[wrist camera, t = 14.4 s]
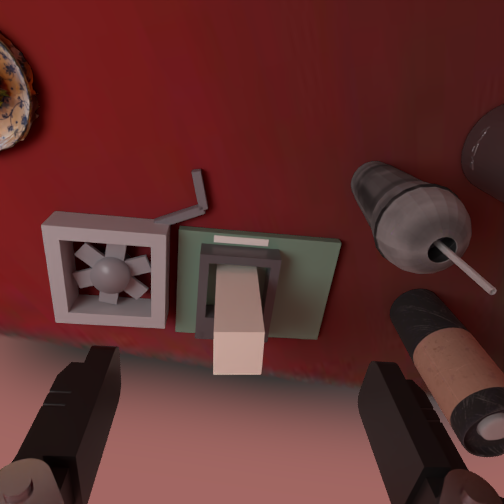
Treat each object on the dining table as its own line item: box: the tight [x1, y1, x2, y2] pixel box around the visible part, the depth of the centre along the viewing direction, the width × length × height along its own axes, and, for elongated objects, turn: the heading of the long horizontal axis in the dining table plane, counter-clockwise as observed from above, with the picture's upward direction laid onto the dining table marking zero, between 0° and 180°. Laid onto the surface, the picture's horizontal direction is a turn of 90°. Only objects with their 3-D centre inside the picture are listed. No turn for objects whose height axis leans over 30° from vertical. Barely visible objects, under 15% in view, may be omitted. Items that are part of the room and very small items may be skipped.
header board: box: [176, 226, 341, 342], centre depth 45 cm, size 18×14×4 cm
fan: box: [41, 169, 208, 329], centre depth 42 cm, size 16×18×4 cm
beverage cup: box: [351, 161, 497, 295], centre depth 33 cm, size 7×7×20 cm
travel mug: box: [390, 289, 504, 457], centre depth 42 cm, size 7×7×18 cm
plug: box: [213, 264, 265, 375], centre depth 40 cm, size 4×6×12 cm
